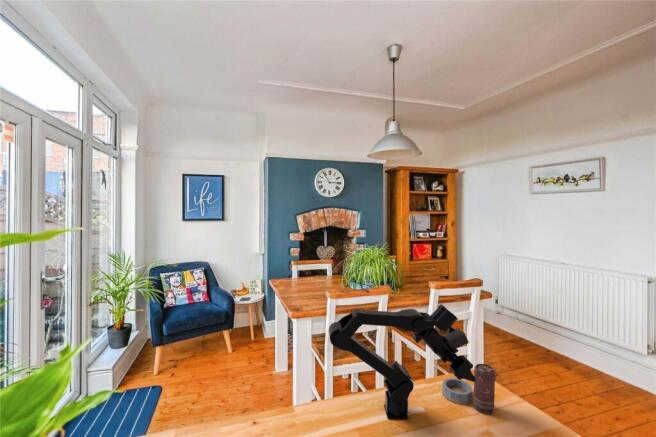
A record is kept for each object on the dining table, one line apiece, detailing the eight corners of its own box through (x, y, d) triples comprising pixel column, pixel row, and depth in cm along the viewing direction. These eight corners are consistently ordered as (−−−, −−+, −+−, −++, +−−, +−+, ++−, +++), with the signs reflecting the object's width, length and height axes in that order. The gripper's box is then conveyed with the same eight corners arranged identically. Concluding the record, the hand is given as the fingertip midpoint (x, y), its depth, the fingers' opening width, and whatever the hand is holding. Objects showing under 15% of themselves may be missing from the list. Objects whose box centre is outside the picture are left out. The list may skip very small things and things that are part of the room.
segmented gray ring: (448, 404, 101) (448, 394, 101) (437, 386, 111) (438, 377, 111) (478, 404, 101) (478, 394, 101) (464, 386, 111) (464, 377, 111)
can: (497, 416, 96) (498, 373, 95) (476, 413, 97) (477, 371, 96) (491, 404, 102) (492, 364, 101) (471, 401, 103) (472, 362, 102)
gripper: (467, 335, 88) (502, 370, 89) (439, 312, 107) (468, 342, 108) (441, 362, 88) (476, 397, 89) (417, 334, 107) (447, 364, 108)
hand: (466, 372), depth 98 cm, fingers open, 9 cm apart
